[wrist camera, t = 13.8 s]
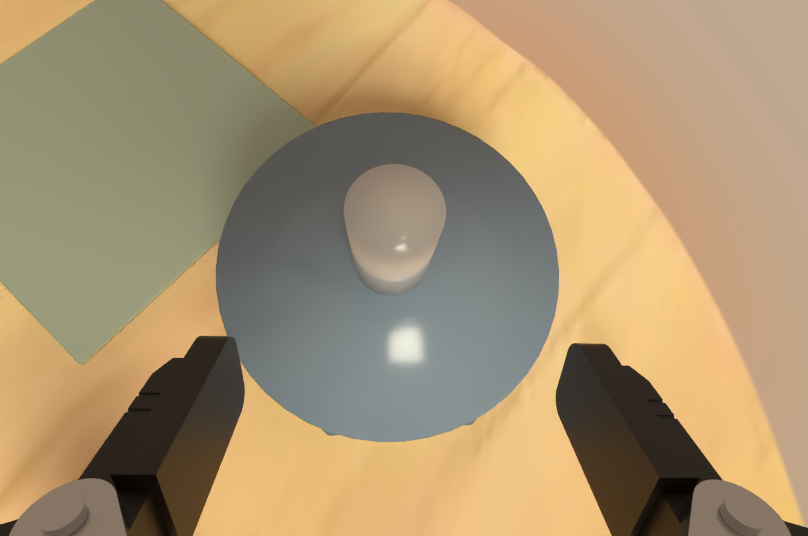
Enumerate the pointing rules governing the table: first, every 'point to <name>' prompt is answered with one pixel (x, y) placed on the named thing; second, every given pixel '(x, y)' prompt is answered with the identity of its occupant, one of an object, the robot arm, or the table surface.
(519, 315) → the food cover
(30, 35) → the table surface
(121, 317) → the rubber mat
